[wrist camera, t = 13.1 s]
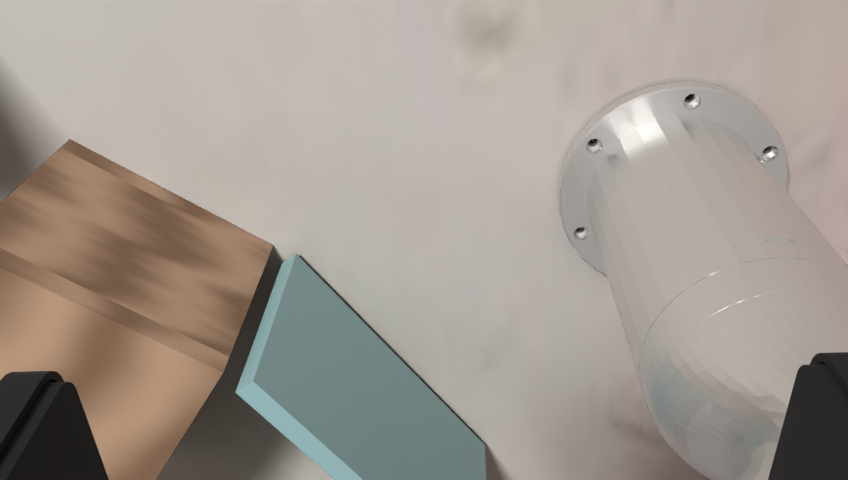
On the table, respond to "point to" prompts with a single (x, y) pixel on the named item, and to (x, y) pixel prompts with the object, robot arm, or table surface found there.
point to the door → (349, 391)
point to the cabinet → (122, 300)
